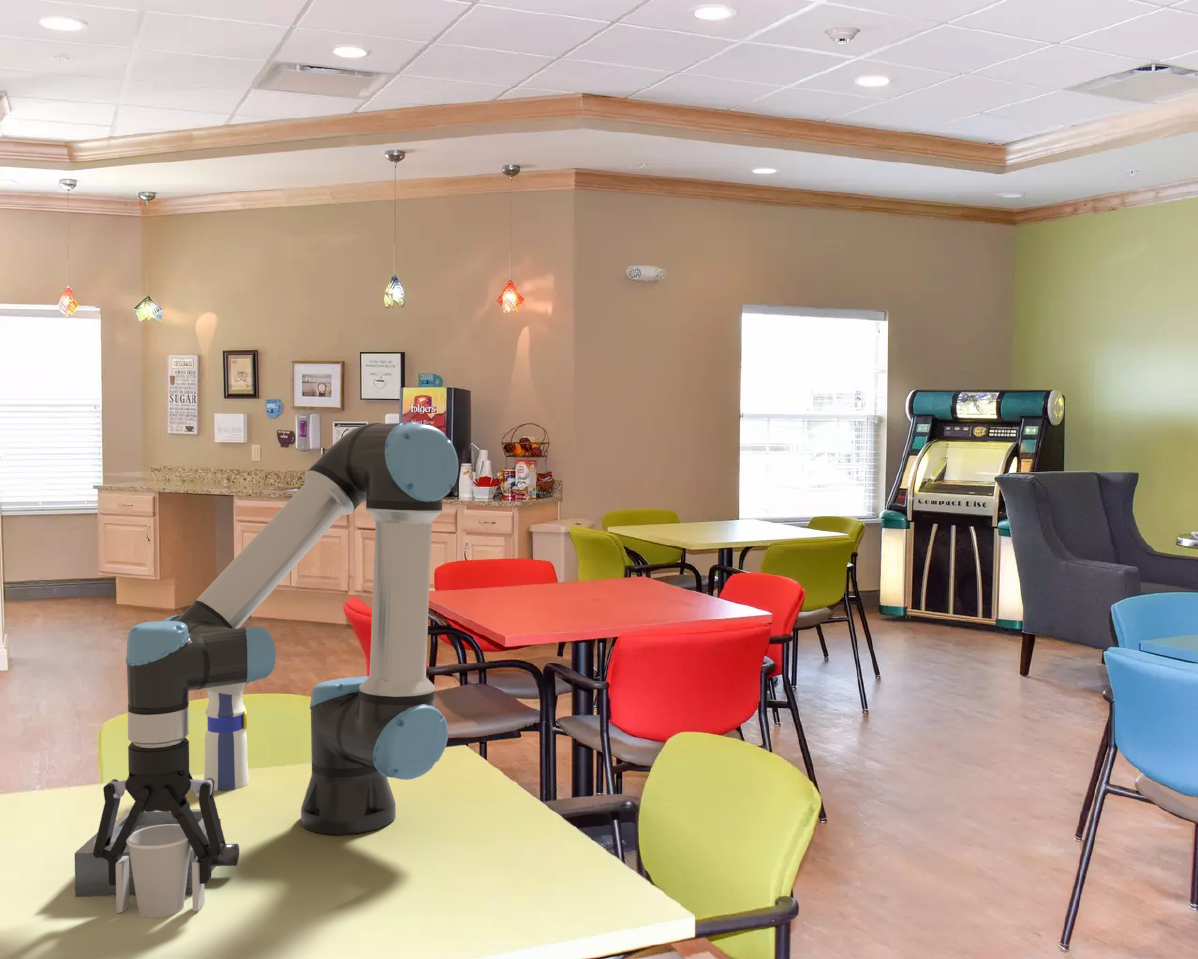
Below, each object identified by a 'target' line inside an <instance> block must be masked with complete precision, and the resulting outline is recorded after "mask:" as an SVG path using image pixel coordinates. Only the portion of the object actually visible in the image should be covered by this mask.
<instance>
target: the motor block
mask: <svg viewBox="0 0 1198 959" xmlns="http://www.w3.org/2000/svg"><path fill="white" fill-rule="evenodd" d="M190 809H191V808H190ZM130 811H131V809H129V810H126V811H125V812H124V813H123V814H122V815H121V816H120V817H119V818H117V819H116V821H115V825H114V829H113V834H112V838H111V842H110V846H112V847H113V845H114V843H115V841H116V839H117V837H118V835H119V833H120V831H121V829H122V827H123V826H124V824H125V822H126V820H127V818H128V816H129V813H130ZM191 811H192V813H193V815H194V816H195V818H196V820H197V822H198V824H199V826H200V827H201V829H202V831H203V833H204V835H205V837H206V838H207V840H208V836H207V833H206V829H205V825H204V821H203V817H202V813H201V809H200V808H197V809H195V808H194V809H191ZM219 820H220V824H222V822H221V820H222V819H221V818H219ZM166 824H177V825H180V824H179V823H178V821H177V819H176V818H174V817H173V815H172V813H171V812H170V811H169V812H162V811H158V810H156V811H153V812H144V813H143V815H142V817H141V819H140V821H139V823H138V825H137V827H136V829H135V831H138V830H140V829H143V828H147V827H151V826H156V825H166ZM135 831H134V832H135ZM97 834H98V831H97V832H96V833H95V834H94V835H93V836H91V838H89V840H87V841H86V842H85V843H84V844H83V845H82V846H81V847H80V848H79V849H78V850H76V851H75V852H74V890H75V891H74V893H75V894H74V896H75V898H76V897H78V898H80V897H82V898H83V897H116V885H110V883H109V864H108V861H107V860H106V859H104V858H101V857H100V858H95V857H94V855H93V851H94V847H95V843H96V838H97ZM208 842H209V840H208ZM124 851H125V852H124V853H123V854H122V857H123V856H129V897H132V896H135V897H136V892H135V886H134V879H133V872H132V866H131V859H130V852H129V846H128V844H127V846H126V848H125V850H124ZM196 857H197V856H196V854H195V852H194V850H193V848H192V846H191V848H190V857H189V866H188V874H187V883H186V892H185V896H186V895H192V862H193V861H194V860H195V858H196ZM239 859H240V846H239V843H226V847H225V848H224V850H223V851H222V852H221V854H220V855H219V856H214V857H212V858H211V870H212V871H211V872H213V870H214V869H215V868H216V867H232V866H233V867H236V866H237V865H238V863H239Z"/></svg>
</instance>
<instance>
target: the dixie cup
mask: <svg viewBox="0 0 1198 959" xmlns="http://www.w3.org/2000/svg"><path fill="white" fill-rule="evenodd" d="M126 843H127V844H128V846H129V852H130V859H131V866H132V872H133V879H134V886H135V892H136V896H135V898H136V905H137V906H136V907H137V911H138V915H139V916H141V917H143V918H149V919H156V918H165V917H170V916H172V915H175V914H177V913H179V912H181V911H183V909H184V907H185V900H186V895H185V892H186V883H187V874H188V866H189V857H190V848H191V845H190V843H189V841H188V839H187V837H186V835H185V834H184V832H183V830H182V828H181V826H180V825H177V824H166V825H156V826H151V827H147V828H143V829H140V830H138V831H135V832H133V833H132V834H131V835H130V836H129V837H128V839H127V840H126Z"/></svg>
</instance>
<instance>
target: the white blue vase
mask: <svg viewBox="0 0 1198 959" xmlns="http://www.w3.org/2000/svg"><path fill="white" fill-rule="evenodd" d="M247 684H248V683H239V684H232V685H225V686H218V687H211V688H204V689H203V690H204V691H206V693H207V696H208V705H207V707H206V709H205V711H204V714H205V715H207V716H206V717H207V731H206V733H205V737H204V770H203V771H204V775H203V776H204V777H203V780H206V779H208V778H212V779H213V780H214V791H215V792H216V791H217V792H222V791H233V790H237V789H241V788H243V787H246V786H247V785H248V784H249V782H250V781H249V766H248V738H247V737H248V736H247V729H248V721H247V720H248V718H247V717H248V716H247V714H248V713H247V708H246V706H245V705H244V702H243V701H244V700H243V698H244V697H243V693H244V692H245V689H246V687H247ZM214 791H213V792H214Z"/></svg>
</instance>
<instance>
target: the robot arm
mask: <svg viewBox="0 0 1198 959" xmlns="http://www.w3.org/2000/svg"><path fill="white" fill-rule="evenodd" d="M445 434H446V433H444V432H443V431H441V430H440V429H439V428H436V426H433V425H430V424H424V423H418V422H417V423H416V422H414V421H413V422H399V423H398V422H396V423H395V422H393V423H379V422H374V423H367V424H362V425H361V426H357V427H356V428H354V429H352V430H350V431H349V432H347V433H346V434H345V435H343V436H342V437H340V438H339V439H338V440H337V441H336V442H334V444H333V445H332V446H330V448H329V449H327V450H326V452H324V453H323V454H322V455H321V456H320V457H319V458H318V459H317V460H316V462H314V464H313V465H312V466H311V467H310V468H309V469H308V470H307V471H306V472H305V473H304V483H303V485H302V486H301V487H300V488H299V489H298V490H297V491H296V492H295V493H294V494H293V496H291V498H290V499H289V500H288V501H287V502H286V503H285V504H284V505H283V506H282V508H280V509H279V511H278V512H277V513H276V514H275V515H273V517H272V518H271V519H270V520H269V522H268V523H267V524H265V526H264V527H263V528H262V529H260V531H259V532H258V533H257V534H256V535H255V536H254V538H252V540H250V542H249V543H248V544H247V545H245V547H244V548H243V549H242V550H241V551H240V553H239V554H238V555H236V557H234V559H232V560H231V562H230V563H229V564H228V565H227V566H226V568H225V569H224V570H223V571H222V572H221V573H220V574H219V575H218V576H217V577H216V578H215V579H214V581H213V582H211V583H210V585H209V586H208V587H207V588H206V589H205V590H204V591H203V592H202V593H201V594H200V595H199V597H198V598H196V600H195V601H193V603H192V604H191V605H190V606H189V607H188V608H187V609H186V610H185V611H184V612H183V613H182V614H176V615H171V616H169V617H166V618H165V619H163V620H162V621H160V620H159V621H158V620H157V621H146V622H142V623H138V624H136V625H135V624H134V626H132V627H131V629H129V632H128V635H127V642H126V658H125V664H126V673H127V674H126V676H127V678H126V680H127V701H128V702H127V739H128V741H129V742H130V743H129V745H128V747H127V752H128V755H127V756H128V758H127V760H128V762H127V763H128V777H127V779H126V780H125V779H124V780H120V781H119V780H118V779H116V778H114V779H111V780H110V781H109V782H108V783H107V784H105V785H104V786H103V788H102V789H103V797H104V798H103V799H104V805H103V809H102V813H101V817H100V822H99V826H98V830H97V832H98V834H97V838H96V843H95V847H94V851H93V855H94V857H95V858H100V857H101V858H104V859H106V860H107V861H108V864H109V883H110V885H116V896H115V910H116V911H115V912H116V913H123V912H124V911H125V910H126V908H127V907H128V906H129V905H130V902H131V901H130V896H129V856H123V857H122V854H123V853H124V852H125V851H124V850H125V848H126V846H127V843H126V840H127V839H128V837H129V836H130V835H131V834H132V833H133V832H134V831H135V829H136V827H137V825H138V823H139V821H140V819H141V817H142V815H143V813H144V812H153V811H156V810H158V811H162V812H169V811H170V812H171V813H172V815H173V817H174V818H176V819H177V821H178V823H179V824H180V826H181V828H182V830H183V832H184V834H185V835H186V837H187V839H188V841H189V843H190V845H191V846H192V848H193V850H194V852H195V854H196V856H197V857H196V858H195V860H194V861H193V862H192V894H191V895H192V912H199V911H200V909H201V908H202V907H203V906H204V904H205V884H208V883H209V881H210V880H211V878H212V872H213V870H211V858H212V857H214V856H219V855H220V854H221V852H222V851H223V850H224V848H225V847H226V844H227V842H226V840H225V837H224V832H223V828H222V825H221V824H222V823H221V824H220V820H219V819H220V817H219V813H218V808H217V805H216V801H215V798H214V780H213V779H212V778H208V779H206V780H204V779H193V776H192V774H191V772H190V741H189V740H188V738H187V736H188V735H189V734H190V733H189V732H190V730H189V728H190V724H189V723H190V722H189V720H190V717H189V716H190V714H189V713H190V710H189V709H190V708H189V707H190V705H189V704H190V703H189V702H190V700H189V698H190V697H189V695H190V691H198V690H204V688H211V687H218V686H225V685H232V684H239V683H247V684H249V683H250V682H255V681H258V680H263V679H266V678H267V677H269V676H270V675H271V674H272V673H273V670H274V668H275V664H276V659H277V658H276V655H277V654H276V652H277V651H276V645H275V641H274V639H273V636H272V634H271V633H270V631H269V630H268V629H266V628H265V627H263V626H247V625H246V626H243V624H244V623H245V622H246V621H247V619H249V617H250V616H251V615H252V614H253V613H254V612H255V611H256V610H257V609H258V608H259V606H260V605H261V604H262V603H263V602H265V600H266V599H267V598H268V597H269V596H270V595H271V593H272V592H273V591H274V590H275V589H276V588H277V587H278V585H280V583H281V582H282V581H283V580H284V579H285V578H286V577H287V576H288V575H289V573H290V572H291V571H292V570H293V569H294V568H295V566H297V564H299V563H300V562H301V561H302V559H303V558H304V557H305V556H306V554H308V552H309V551H310V550H311V549H312V548H313V547H314V546H315V545H316V544H317V542H319V540H320V539H321V538H322V537H323V536H324V535H325V534H326V532H327V531H328V530H329V529H330V528H331V527H332V526H333V525H334V524H335V523H336V521H338V519H339V518H340V517H341V516H348V515H351V514H353V512H354V511H355V510H356V509H357V508H358V507H359V506H360V505H361V504H362V503H363V502H366V504H365V510H366V511H367V512H368V514H369V515H370V516H371V517H372V518H373V519H374V522H375V525H374V526H375V528H374V529H375V531H374V552H373V554H374V555H373V556H374V558H373V576H372V577H373V578H372V579H373V581H372V582H373V583H372V601H371V602H372V604H371V605H372V608H371V627H370V628H371V631H370V633H371V635H370V656H369V658H370V660H369V675H367V676H366V675H363V676H351V677H344V678H336V679H330V680H326V681H322V682H319V683H318V684H316V685H315V686H314V687H313V688H312V691H311V696H310V705H309V709H310V736H311V737H310V740H311V742H310V743H311V746H310V747H311V750H310V751H311V776H310V779H309V782H308V785H307V788H306V792H305V796H304V798H303V801H302V805H301V807H300V824H301V825H302V827H304V829H306V830H308V831H311V832H315V833H319V834H325V835H353V834H360V833H367V832H370V831H374V830H378V829H380V828H383V827H385V826H387V825H389V824H391V823H392V822H393V821H394V820H395V818H396V816H397V815H396V814H397V813H396V809H397V807H396V801H395V800H396V799H395V797H394V794H393V791H392V788H391V785H390V782H389V780H388V778H393V779H394V778H395V779H398V780H402V781H403V780H405V781H409V780H413V779H416V778H420V777H422V776H423V775H425V774H427V773H428V772H430V770H432V769H433V767H434V765H435V764H436V763H438V762H439V761H440V759H441V757H442V756H443V754H444V752H445V750H446V747H447V744H448V740H449V739H448V738H449V726H448V722H447V720H446V718H445V716H443V715H442V712H441V711H440V709H438V708H437V707H435V704H436V697H435V696H436V685H434V684H433V682H432V681H430V680H429V678H428V677H427V658H428V657H427V656H428V654H427V652H428V634H429V633H428V631H429V630H428V629H429V604H430V603H429V601H430V583H431V582H430V579H431V578H430V576H431V551H432V549H431V548H432V527H433V526H432V524H433V522H434V521H435V520H436V519H437V517H438V516H440V515H441V514H442V512H443V499H444V497H446V496H447V495H449V493H450V492H451V489H452V488H454V486H455V485H456V482H457V479H458V475H459V459H458V454H457V451H456V449H455V447H454V444H453V443H452V442H451V440H450V439H449V437H447V435H445ZM242 626H243V627H242ZM190 790H193V792H194V796H195V797H196V798H198V804H199V805H198V806H199V809H201V813H202V817H203V821H204V825H205V829H206V833H207V836H208V840H209V842H208V840H207V838H206V837H205V835H204V833H203V831H202V829H201V827H200V826H199V824H198V822H197V820H196V818H195V816H194V815H193V813H192V811H191V805H190V802H189V800H188V799H187V797H186V795H187V794H188V792H189V791H190ZM125 791H127V793H128V794H129V795H130V796H131V798H132V799H133V800H134V803H133V805H132V806H131V808H130V810H131V811H130V813H129V816H128V818H127V820H126V822H125V824H124V826H123V827H122V829H121V831H120V833H119V835H118V837H117V839H116V841H115V843H114V845H113V847H112V846H110V842H111V838H112V834H113V829H114V825H115V821H117V816H118V812H119V809H120V808H119V807H120V803H121V798H122V797H123V796H124V795H125ZM211 871H212V872H211Z"/></svg>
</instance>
